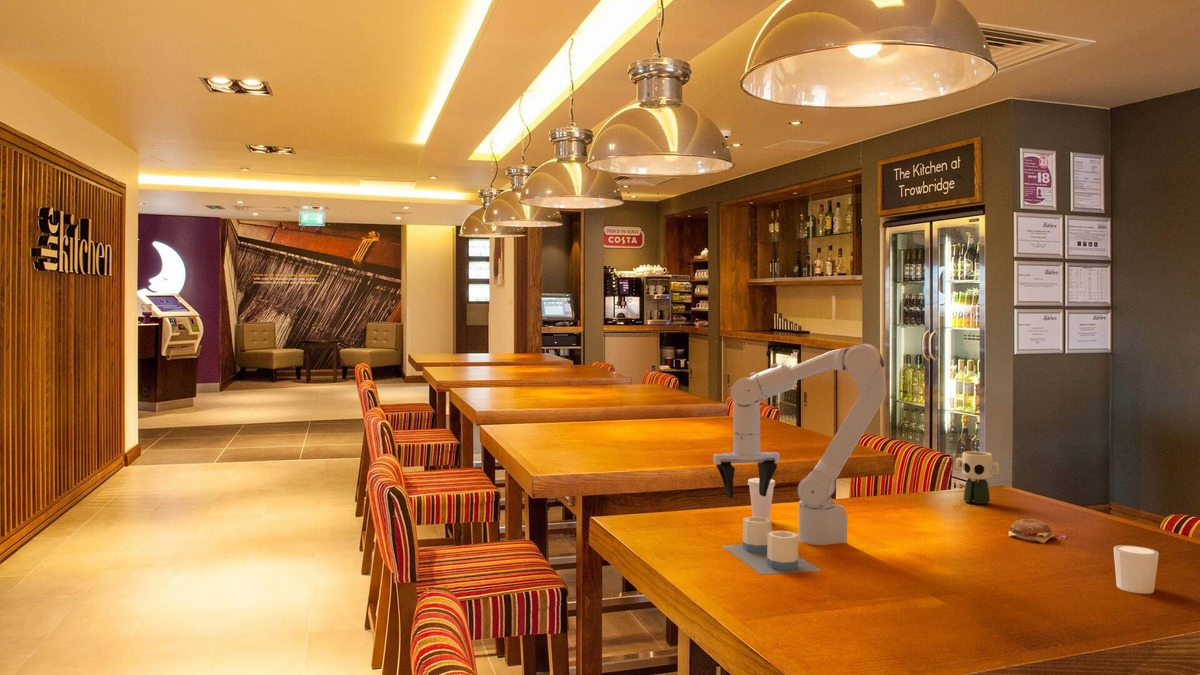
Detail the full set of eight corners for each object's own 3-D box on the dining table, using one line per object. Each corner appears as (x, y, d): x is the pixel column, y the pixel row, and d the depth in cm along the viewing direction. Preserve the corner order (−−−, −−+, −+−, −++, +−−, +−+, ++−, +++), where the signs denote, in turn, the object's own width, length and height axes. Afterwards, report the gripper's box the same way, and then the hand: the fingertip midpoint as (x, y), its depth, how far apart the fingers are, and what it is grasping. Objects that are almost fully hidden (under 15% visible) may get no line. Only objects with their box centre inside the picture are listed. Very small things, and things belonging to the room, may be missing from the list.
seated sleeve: (789, 561, 164) (789, 530, 164) (801, 569, 159) (801, 537, 159) (763, 563, 163) (764, 531, 162) (775, 571, 158) (775, 538, 157)
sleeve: (763, 545, 175) (764, 516, 175) (774, 552, 170) (774, 521, 170) (739, 546, 174) (740, 517, 174) (750, 553, 169) (750, 523, 169)
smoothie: (775, 525, 199) (775, 464, 198) (746, 523, 200) (747, 463, 200) (775, 518, 205) (775, 460, 205) (747, 517, 206) (748, 459, 206)
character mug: (950, 501, 224) (950, 452, 224) (960, 497, 230) (961, 449, 229) (993, 508, 217) (994, 457, 217) (1003, 504, 222) (1004, 453, 222)
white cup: (1158, 597, 148) (1159, 556, 148) (1112, 590, 152) (1112, 551, 152) (1157, 586, 154) (1158, 547, 154) (1113, 580, 158) (1113, 542, 158)
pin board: (776, 549, 178) (776, 523, 177) (822, 578, 158) (822, 548, 158) (721, 553, 175) (721, 526, 175) (761, 582, 155) (761, 552, 155)
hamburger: (1061, 552, 179) (1062, 523, 178) (993, 538, 189) (993, 511, 189) (1085, 540, 188) (1086, 512, 188) (1019, 528, 198) (1020, 502, 198)
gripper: (770, 430, 191) (769, 491, 191) (708, 431, 187) (708, 493, 188) (784, 434, 184) (783, 497, 184) (720, 436, 181) (719, 500, 181)
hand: (746, 496), depth 185 cm, fingers open, 7 cm apart
